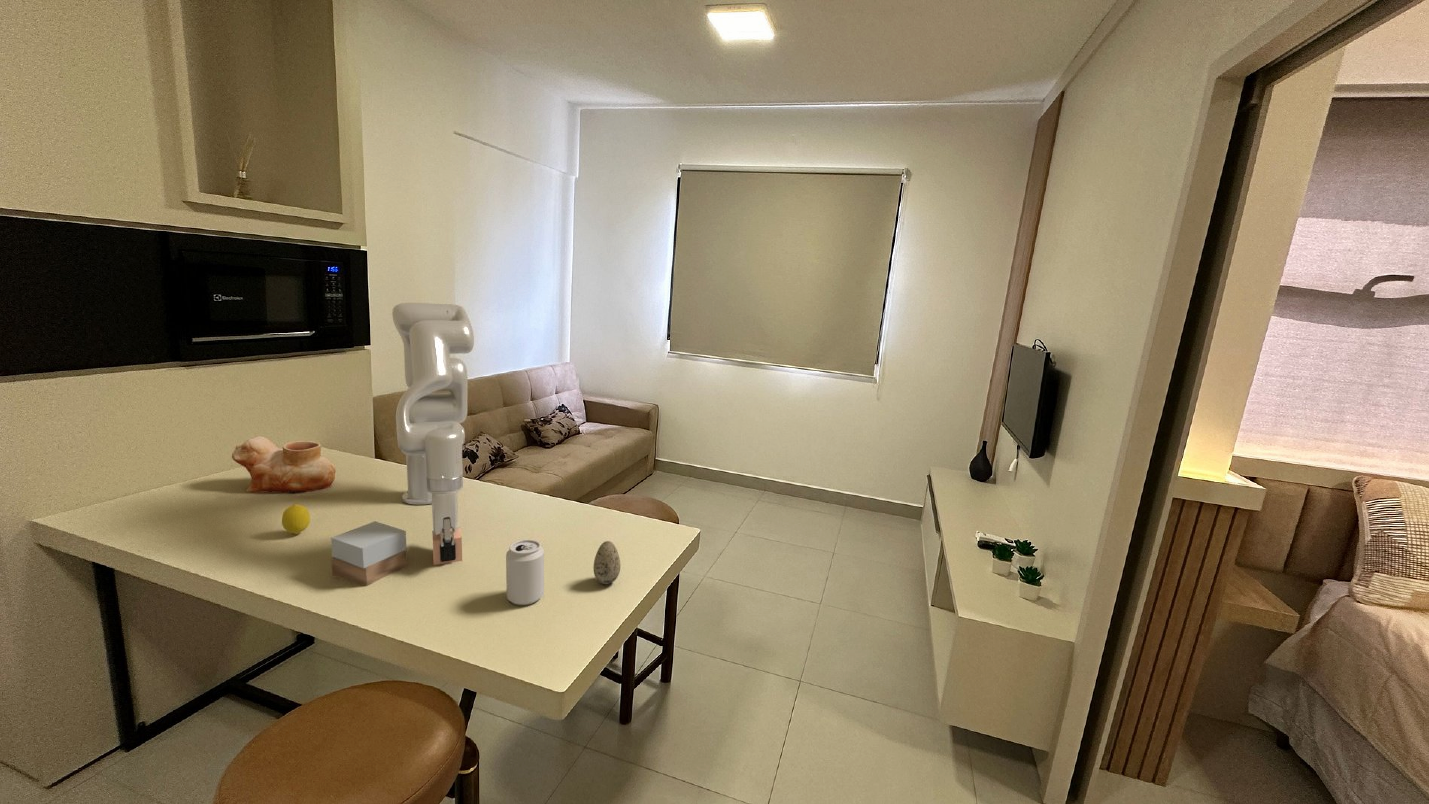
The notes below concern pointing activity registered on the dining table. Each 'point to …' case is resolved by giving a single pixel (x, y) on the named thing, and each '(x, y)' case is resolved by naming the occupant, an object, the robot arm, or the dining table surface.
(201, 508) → the dining table surface
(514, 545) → the can
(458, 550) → the block
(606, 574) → the decorative egg
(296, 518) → the lemon
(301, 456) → the ceramic vessel
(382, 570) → the tower base
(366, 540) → the tower top
